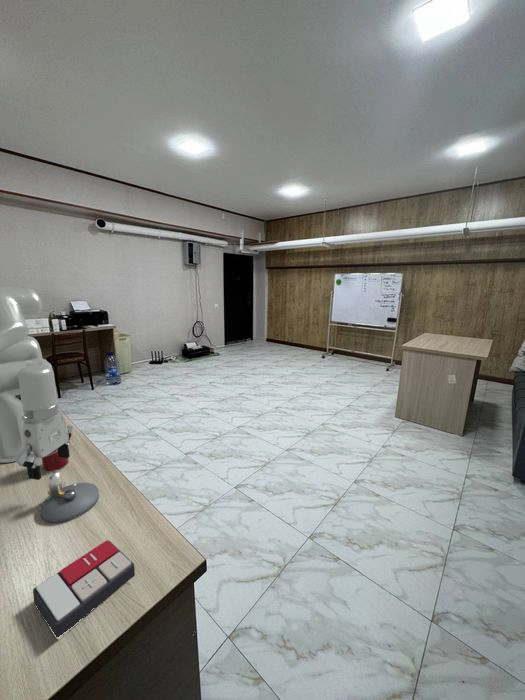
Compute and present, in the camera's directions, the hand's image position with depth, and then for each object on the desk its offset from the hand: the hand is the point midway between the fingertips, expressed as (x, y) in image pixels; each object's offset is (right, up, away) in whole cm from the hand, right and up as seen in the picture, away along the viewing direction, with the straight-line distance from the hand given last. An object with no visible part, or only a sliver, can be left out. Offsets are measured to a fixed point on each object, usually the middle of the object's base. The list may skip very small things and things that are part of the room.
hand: (50, 467), depth 82 cm
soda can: (-11, -7, +18) cm, 23 cm away
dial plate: (+5, -11, +1) cm, 12 cm away
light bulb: (+2, -9, +2) cm, 9 cm away
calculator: (+23, -17, -21) cm, 36 cm away
